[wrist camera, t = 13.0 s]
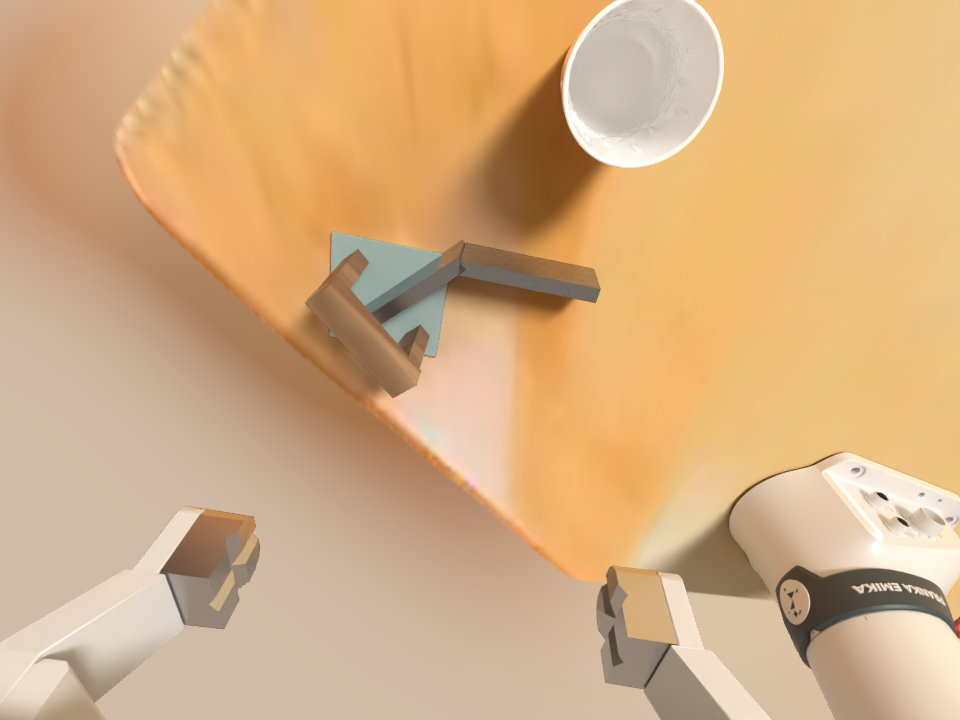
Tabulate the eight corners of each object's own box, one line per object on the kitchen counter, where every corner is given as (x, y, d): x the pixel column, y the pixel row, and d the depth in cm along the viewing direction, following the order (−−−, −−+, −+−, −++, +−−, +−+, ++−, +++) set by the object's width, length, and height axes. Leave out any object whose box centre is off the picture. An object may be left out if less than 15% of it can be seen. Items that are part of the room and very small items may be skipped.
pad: (452, 255, 41) (451, 256, 41) (436, 355, 46) (435, 357, 46) (332, 231, 40) (331, 232, 40) (330, 335, 46) (329, 336, 46)
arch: (360, 246, 41) (328, 286, 34) (432, 334, 45) (416, 385, 38) (339, 261, 42) (304, 303, 35) (412, 346, 45) (392, 398, 39)
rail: (594, 267, 40) (601, 286, 37) (565, 354, 45) (569, 378, 42) (368, 220, 40) (353, 236, 36) (362, 314, 44) (349, 336, 41)
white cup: (692, 22, 31) (754, 13, 23) (644, 151, 36) (682, 183, 27) (573, -9, 31) (592, -31, 23) (538, 125, 35) (544, 149, 27)
